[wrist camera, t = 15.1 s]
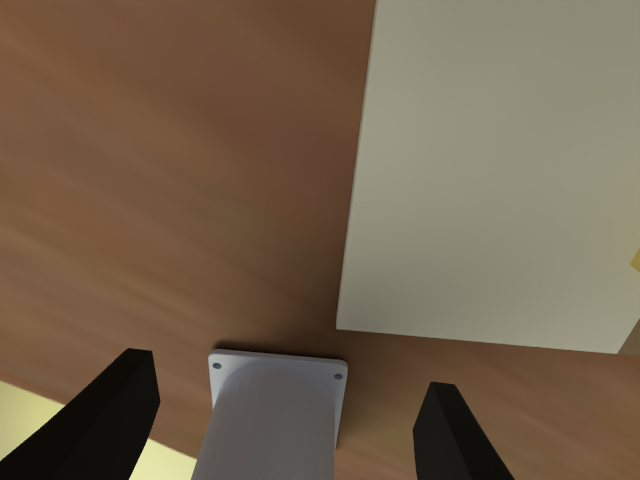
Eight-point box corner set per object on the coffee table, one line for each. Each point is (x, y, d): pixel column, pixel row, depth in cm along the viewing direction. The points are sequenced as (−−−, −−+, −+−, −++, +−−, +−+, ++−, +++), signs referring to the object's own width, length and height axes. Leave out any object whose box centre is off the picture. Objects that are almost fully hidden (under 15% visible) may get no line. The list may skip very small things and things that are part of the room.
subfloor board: (782, 355, 21) (801, 370, 20) (336, 315, 21) (336, 329, 20) (1102, 12, 13) (1156, 12, 12) (382, -51, 13) (385, -55, 12)
